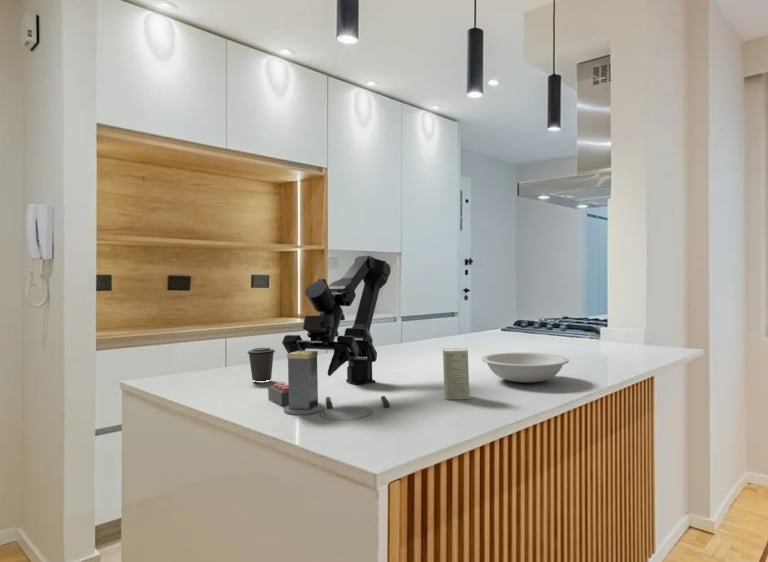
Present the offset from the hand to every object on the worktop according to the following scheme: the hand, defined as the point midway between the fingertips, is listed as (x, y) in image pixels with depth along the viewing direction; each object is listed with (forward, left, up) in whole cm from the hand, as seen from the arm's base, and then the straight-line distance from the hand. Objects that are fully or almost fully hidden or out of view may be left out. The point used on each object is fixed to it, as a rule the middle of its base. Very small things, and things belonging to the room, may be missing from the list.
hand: (310, 374), depth 125 cm
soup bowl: (-62, +11, -8) cm, 63 cm away
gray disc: (+3, +3, -7) cm, 9 cm away
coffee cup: (-1, -36, -8) cm, 37 cm away
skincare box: (-33, +15, -8) cm, 37 cm away
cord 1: (-4, +2, -7) cm, 8 cm away
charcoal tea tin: (+3, +3, -7) cm, 8 cm away
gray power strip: (+4, -8, -7) cm, 12 cm away
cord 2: (-15, +9, -7) cm, 19 cm away
